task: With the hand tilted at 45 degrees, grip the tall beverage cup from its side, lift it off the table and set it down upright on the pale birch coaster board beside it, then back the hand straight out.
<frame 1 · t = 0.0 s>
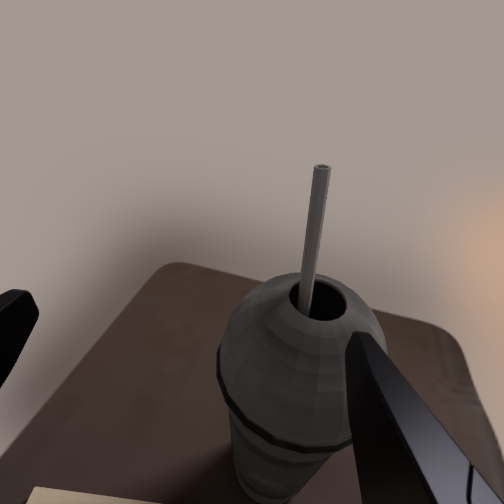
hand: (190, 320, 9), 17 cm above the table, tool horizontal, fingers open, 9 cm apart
beverage cup: (268, 464, 21), on the table
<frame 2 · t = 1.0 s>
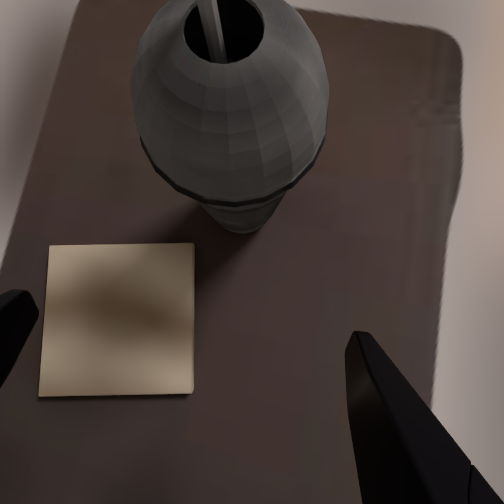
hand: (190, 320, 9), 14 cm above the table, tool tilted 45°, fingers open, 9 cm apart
beverage cup: (242, 204, 24), on the table
coaster board: (122, 316, 22), on the table
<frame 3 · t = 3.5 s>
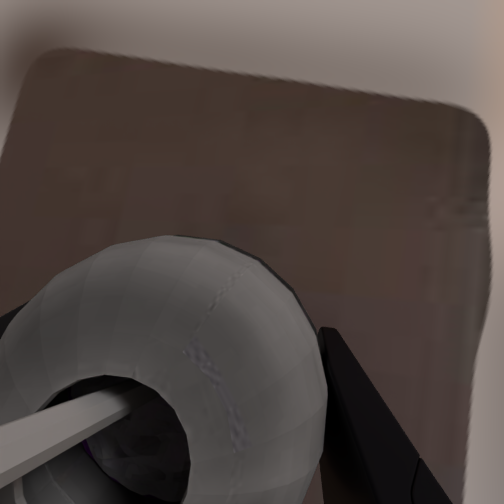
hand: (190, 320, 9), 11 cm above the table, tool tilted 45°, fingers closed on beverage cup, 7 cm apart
beverage cup: (221, 330, 19), on the table, touching gripper
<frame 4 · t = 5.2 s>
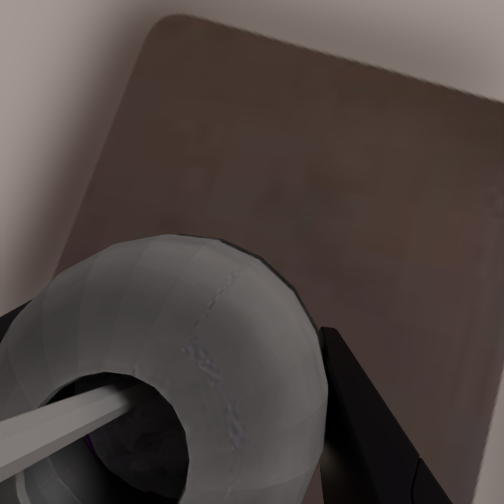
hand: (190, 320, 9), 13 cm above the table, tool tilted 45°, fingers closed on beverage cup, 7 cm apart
beverage cup: (225, 329, 19), point 2 cm above the table, touching gripper
when the fingers open (12 cm above the table, at t = 6.9 s): beverage cup stays where it is, resting on coaster board.
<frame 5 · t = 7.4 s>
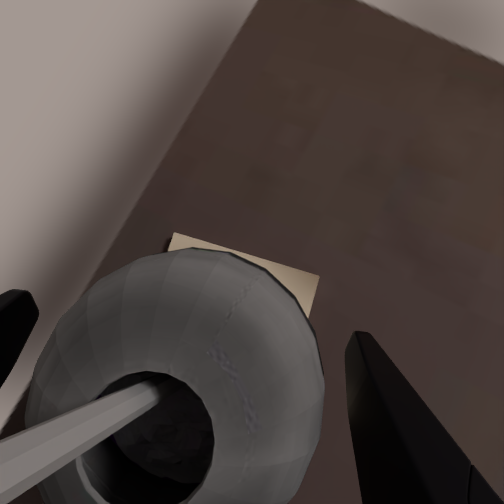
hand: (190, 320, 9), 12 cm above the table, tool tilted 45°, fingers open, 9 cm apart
beverage cup: (226, 329, 20), point 1 cm above the table, touching coaster board
coaster board: (224, 327, 21), on the table
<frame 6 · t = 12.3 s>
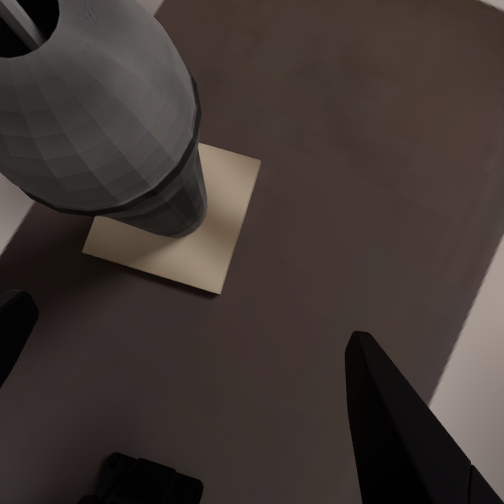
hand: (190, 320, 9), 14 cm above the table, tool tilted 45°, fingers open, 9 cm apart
beverage cup: (176, 207, 23), point 1 cm above the table, touching coaster board
coaster board: (175, 208, 23), on the table
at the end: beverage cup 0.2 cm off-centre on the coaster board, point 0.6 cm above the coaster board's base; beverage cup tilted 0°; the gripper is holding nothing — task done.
